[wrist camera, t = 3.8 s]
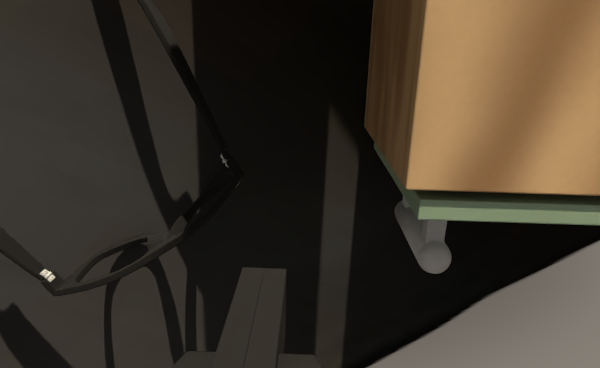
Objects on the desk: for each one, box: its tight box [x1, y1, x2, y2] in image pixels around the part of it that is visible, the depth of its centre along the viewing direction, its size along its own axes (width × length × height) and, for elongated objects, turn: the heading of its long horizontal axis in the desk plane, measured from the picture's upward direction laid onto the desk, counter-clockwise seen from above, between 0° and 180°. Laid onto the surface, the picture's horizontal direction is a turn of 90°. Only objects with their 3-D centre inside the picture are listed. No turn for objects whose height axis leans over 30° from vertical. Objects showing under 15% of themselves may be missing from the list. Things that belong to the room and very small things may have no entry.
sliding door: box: [374, 142, 600, 274], centre depth 21 cm, size 8×4×11 cm, turn 88°
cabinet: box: [364, 0, 600, 196], centre depth 19 cm, size 18×12×12 cm, turn 88°
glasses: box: [0, 0, 244, 296], centre depth 25 cm, size 17×18×5 cm
